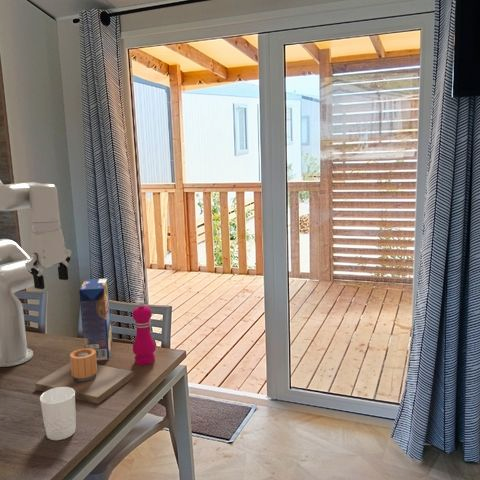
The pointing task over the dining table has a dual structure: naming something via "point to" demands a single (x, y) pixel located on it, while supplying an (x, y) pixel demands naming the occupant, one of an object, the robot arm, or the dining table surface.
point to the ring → (83, 363)
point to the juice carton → (96, 317)
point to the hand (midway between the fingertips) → (52, 283)
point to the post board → (87, 382)
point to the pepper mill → (143, 336)
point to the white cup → (59, 412)
